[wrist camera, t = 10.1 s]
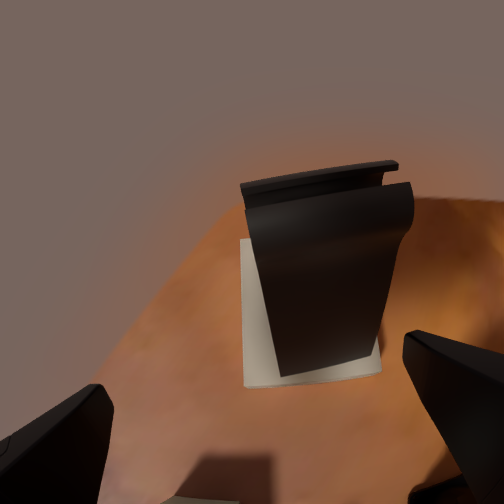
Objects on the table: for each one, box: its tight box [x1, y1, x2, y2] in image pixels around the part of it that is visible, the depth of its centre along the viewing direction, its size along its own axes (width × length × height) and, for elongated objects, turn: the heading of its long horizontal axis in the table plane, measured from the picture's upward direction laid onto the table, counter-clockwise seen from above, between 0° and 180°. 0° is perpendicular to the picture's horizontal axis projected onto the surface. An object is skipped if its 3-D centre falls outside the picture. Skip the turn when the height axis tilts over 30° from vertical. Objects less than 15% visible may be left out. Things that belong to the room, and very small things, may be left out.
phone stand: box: [240, 160, 414, 377], centre depth 15 cm, size 9×6×12 cm, turn 9°
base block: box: [240, 238, 382, 389], centre depth 21 cm, size 9×11×2 cm
